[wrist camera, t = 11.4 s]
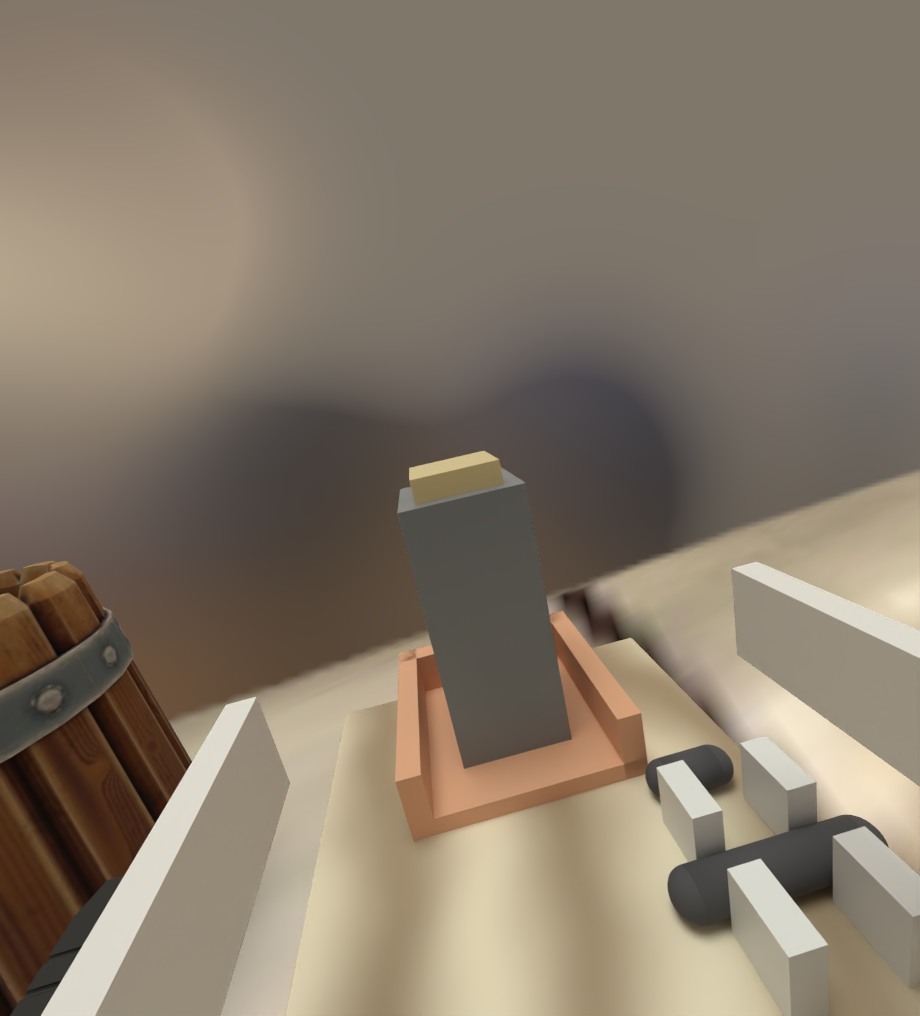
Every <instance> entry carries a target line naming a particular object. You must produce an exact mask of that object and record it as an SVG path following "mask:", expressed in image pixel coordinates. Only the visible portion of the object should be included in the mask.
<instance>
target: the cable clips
mask: <svg viewBox="0 0 920 1016" xmlns="http://www.w3.org/2000/svg"><path fill="white" fill-rule="evenodd" d="M740 752H741V767H742V782H743V797H744V799H745V800H746V801H747V802H748V803H749V805H750V806H751V807H752V808H753V809H754V810H755V812H756V813H757V814H758V815H759V816H760V817H761V818H762V820H763V821H764V822H765V823H766V824H767V825H768V827H769V828H770V829H771V830H772V831H773V832H774V833H775V835H778V834H782V833H785V832H788V831H791V830H795V829H798V828H801V827H804V826H808V825H811V824H814V823H817V798H816V781H815V780H814V779H812V778H811V777H810V776H809V775H808V774H807V773H806V772H805V771H804V770H803V769H801V768H800V767H799V766H798V765H797V764H796V763H795V762H794V761H793V760H792V759H790V758H789V757H788V756H787V755H786V754H785V753H784V752H783V751H782V750H781V749H779V748H778V747H777V746H776V745H775V744H774V743H773V742H772V741H771V740H770V739H769V738H767V737H766V736H763V737H760V738H756V739H753V740H749V741H746V742H742V743H740ZM656 768H657V776H658V784H659V792H660V800H661V808H662V816H663V822H664V824H665V825H666V827H667V829H668V830H669V832H670V833H671V835H672V837H673V838H674V840H675V841H676V843H677V845H678V846H679V848H680V850H681V851H682V853H683V854H684V856H685V858H686V859H687V861H688V862H690V861H694V860H697V859H700V858H703V857H707V856H710V855H713V854H716V853H720V852H723V851H726V849H725V836H724V824H723V812H722V809H721V808H720V807H719V805H718V804H717V803H716V801H715V800H714V799H713V798H712V796H711V795H710V794H709V793H708V791H707V790H706V789H705V787H704V786H703V785H702V784H701V782H700V781H699V780H698V779H697V777H696V776H695V775H694V773H693V772H692V771H691V770H690V768H689V767H688V766H687V765H686V763H685V762H684V761H683V760H680V761H677V762H673V763H670V764H667V765H663V766H660V767H656ZM727 875H728V887H729V899H730V911H731V923H732V933H733V935H734V936H735V938H736V940H737V941H738V943H739V944H740V946H741V948H742V949H743V951H744V953H745V954H746V956H747V957H748V959H749V961H750V962H751V964H752V965H753V967H754V969H755V970H756V972H757V973H758V975H759V977H760V978H761V980H762V981H763V983H764V985H765V986H766V988H767V990H768V991H769V993H770V994H771V996H772V998H773V999H774V1001H775V1002H776V1004H777V1006H778V1007H779V1009H780V1010H781V1012H782V1014H783V1015H784V1016H829V986H828V944H827V943H826V941H825V940H824V939H823V937H822V936H821V935H820V934H819V932H818V931H817V930H816V929H815V927H814V926H813V925H812V923H811V922H810V921H809V920H808V918H807V917H806V916H805V915H804V913H803V912H802V911H801V909H800V908H799V907H798V906H797V904H796V903H795V902H794V901H793V899H792V898H791V897H790V896H789V894H788V893H787V892H786V890H785V889H784V888H783V887H782V885H781V884H780V883H779V882H778V880H777V879H776V878H775V876H774V875H773V874H772V873H771V871H770V870H769V869H768V868H767V866H766V865H765V864H764V862H763V861H762V860H761V859H757V860H754V861H751V862H748V863H744V864H741V865H738V866H735V867H731V868H728V869H727ZM833 902H834V903H835V904H836V905H837V906H838V907H839V908H840V910H841V911H842V912H843V913H844V914H845V915H846V917H847V918H848V919H849V920H850V921H851V922H852V923H853V925H854V926H855V927H856V928H857V929H858V930H859V932H860V933H861V934H862V935H863V936H864V937H865V938H866V940H867V941H868V942H869V943H870V944H871V945H872V947H873V948H874V949H875V950H876V951H877V952H878V953H879V955H880V956H881V957H882V958H883V959H884V960H885V962H886V963H887V964H888V965H889V966H890V967H891V968H892V970H893V971H894V972H895V973H896V974H897V975H898V977H899V978H900V979H901V980H902V981H903V982H904V983H905V985H906V986H907V987H908V988H912V987H915V986H917V985H920V876H919V875H918V874H917V873H916V872H915V871H913V870H912V869H911V868H910V867H909V866H908V865H907V864H906V863H905V862H904V861H903V860H901V859H900V858H899V857H898V856H897V855H896V854H895V853H894V852H893V851H892V850H890V849H889V848H888V847H887V846H886V845H885V844H884V843H883V842H882V841H881V840H879V839H878V838H877V837H876V836H875V835H874V834H873V833H872V832H871V831H870V830H868V829H867V828H866V827H865V826H864V827H861V828H857V829H854V830H851V831H848V832H844V833H841V834H838V835H835V836H833Z"/></svg>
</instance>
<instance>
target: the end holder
mask: <svg viewBox="0 0 920 1016" xmlns="http://www.w3.org/2000/svg"><path fill="white" fill-rule="evenodd" d="M549 616H550V621H551V627H552V632H553V638H554V643H555V649H556V654H557V660H558V665H559V671H560V676H561V682H562V687H563V693H564V698H565V704H566V709H567V715H568V720H569V726H570V731H571V737H572V739H571V740H567V741H564V742H560V743H556V744H553V745H549V746H546V747H542V748H538V749H535V750H531V751H527V752H524V753H520V754H516V755H513V756H509V757H506V758H502V759H498V760H495V761H491V762H487V763H484V764H480V765H477V766H473V767H469V768H466V769H464V767H463V763H462V759H461V755H460V751H459V748H458V744H457V740H456V736H455V732H454V728H453V725H452V721H451V717H450V713H449V709H448V705H447V702H446V698H445V694H444V690H443V686H442V682H441V679H440V675H439V671H438V667H437V663H436V659H435V656H434V652H433V648H432V645H430V646H426V647H422V648H418V649H414V650H411V651H407V652H403V653H399V678H398V709H397V740H396V772H395V783H396V786H397V789H398V793H399V796H400V799H401V802H402V805H403V809H404V812H405V815H406V818H407V821H408V825H409V828H410V831H411V834H412V838H413V841H417V840H421V839H424V838H427V837H431V836H434V835H438V834H441V833H445V832H448V831H452V830H455V829H458V828H462V827H465V826H469V825H472V824H476V823H479V822H483V821H486V820H489V819H493V818H496V817H500V816H503V815H507V814H510V813H514V812H517V811H520V810H524V809H527V808H531V807H534V806H538V805H541V804H545V803H548V802H551V801H555V800H558V799H562V798H565V797H569V796H572V795H576V794H579V793H582V792H586V791H589V790H593V789H596V788H600V787H603V786H607V785H610V784H613V783H617V782H620V781H624V780H627V779H631V778H634V777H638V776H641V775H644V774H645V772H646V768H647V765H648V761H647V753H646V745H645V738H644V730H643V723H642V715H641V712H640V711H639V709H638V708H637V707H636V706H635V704H634V703H633V702H632V700H631V699H630V698H629V696H628V695H627V694H626V693H625V691H624V690H623V689H622V687H621V686H620V685H619V684H618V682H617V681H616V680H615V678H614V677H613V676H612V674H611V673H610V672H609V671H608V669H607V668H606V667H605V665H604V664H603V663H602V661H601V660H600V659H599V658H598V656H597V655H596V654H595V652H594V651H593V650H592V649H591V647H590V646H589V645H588V643H587V642H586V641H585V639H584V638H583V637H582V636H581V634H580V633H579V632H578V630H577V629H576V628H575V626H574V625H573V624H572V623H571V621H570V620H569V619H568V617H567V616H566V615H565V614H564V612H563V611H560V612H557V613H553V614H549Z"/></svg>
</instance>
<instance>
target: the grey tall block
mask: <svg viewBox="0 0 920 1016" xmlns="http://www.w3.org/2000/svg"><path fill="white" fill-rule="evenodd" d="M409 473H410V474H409V481H410V485H411V487H408V488H404V489H400V496H399V505H398V513H397V514H398V517H399V521H400V525H401V529H402V533H403V536H404V540H405V544H406V548H407V552H408V556H409V560H410V563H411V567H412V571H413V575H414V578H415V582H416V586H417V590H418V594H419V598H420V602H421V606H422V609H423V613H424V617H425V621H426V625H427V629H428V632H429V636H430V640H431V644H432V648H433V652H434V656H435V659H436V663H437V667H438V671H439V675H440V679H441V682H442V686H443V690H444V694H445V698H446V702H447V705H448V709H449V713H450V717H451V721H452V725H453V728H454V732H455V736H456V740H457V744H458V748H459V751H460V755H461V759H462V763H463V767H464V769H466V768H469V767H473V766H477V765H480V764H484V763H487V762H491V761H495V760H498V759H502V758H506V757H509V756H513V755H516V754H520V753H524V752H527V751H531V750H535V749H538V748H542V747H546V746H549V745H553V744H556V743H560V742H564V741H567V740H571V739H572V737H571V731H570V726H569V720H568V715H567V709H566V704H565V698H564V693H563V687H562V682H561V676H560V671H559V665H558V660H557V654H556V649H555V643H554V638H553V632H552V627H551V621H550V616H549V610H548V605H547V599H546V594H545V588H544V583H543V578H542V572H541V566H540V561H539V555H538V550H537V544H536V539H535V533H534V528H533V522H532V517H531V511H530V506H529V500H528V495H527V489H526V484H525V482H523V481H522V480H520V479H518V478H517V477H515V476H514V475H512V474H511V473H509V472H507V471H506V470H505V469H503V468H501V466H500V461H499V459H497V458H496V457H494V456H492V455H490V454H489V453H487V452H485V451H482V452H477V453H473V454H469V455H464V456H460V457H455V458H451V459H447V460H443V461H438V462H434V463H429V464H425V465H421V466H416V467H412V468H410V469H409Z"/></svg>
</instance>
